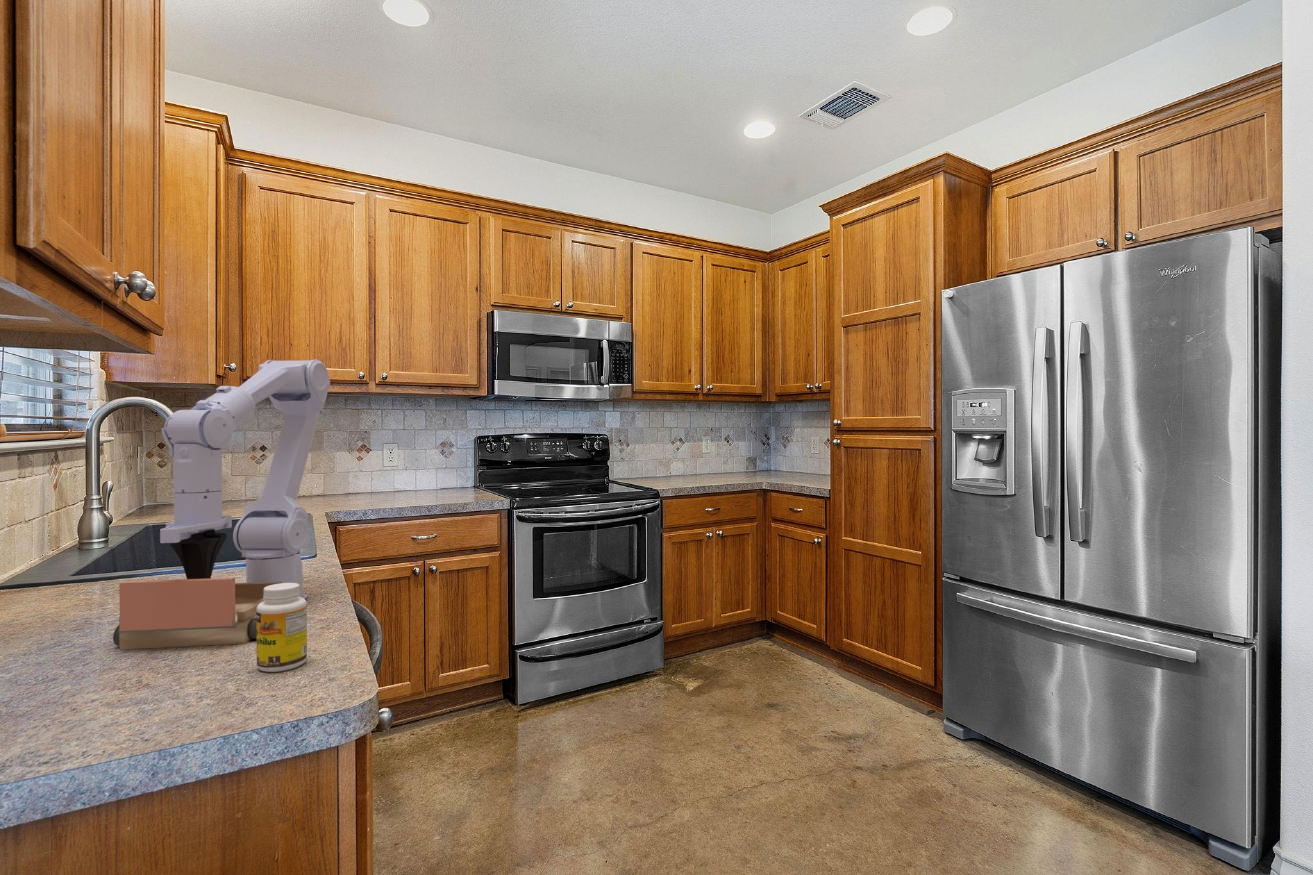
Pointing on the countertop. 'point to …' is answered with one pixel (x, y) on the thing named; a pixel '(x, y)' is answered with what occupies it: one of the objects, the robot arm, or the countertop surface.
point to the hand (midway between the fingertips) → (199, 584)
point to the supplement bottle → (281, 628)
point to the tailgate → (177, 605)
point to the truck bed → (244, 631)
